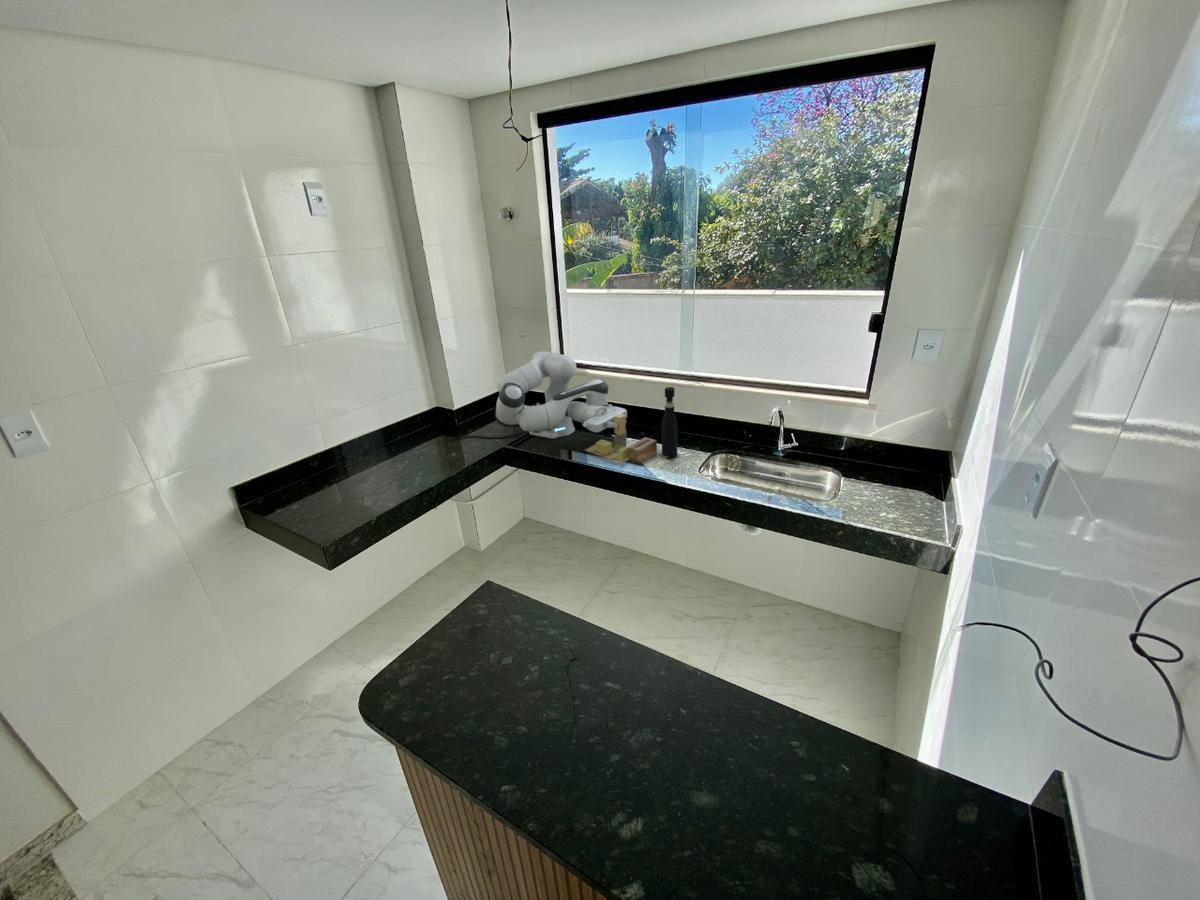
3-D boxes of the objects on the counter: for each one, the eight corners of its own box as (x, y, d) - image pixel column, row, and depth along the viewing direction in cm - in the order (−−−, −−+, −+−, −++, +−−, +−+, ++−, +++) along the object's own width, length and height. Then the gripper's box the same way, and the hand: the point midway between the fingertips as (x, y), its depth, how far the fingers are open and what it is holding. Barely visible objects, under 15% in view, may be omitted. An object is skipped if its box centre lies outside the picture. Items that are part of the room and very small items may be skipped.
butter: (595, 451, 213) (595, 442, 211) (602, 447, 216) (602, 439, 214) (605, 454, 209) (605, 446, 207) (612, 450, 212) (612, 442, 210)
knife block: (628, 461, 204) (627, 446, 201) (645, 451, 212) (645, 437, 209) (639, 465, 201) (639, 450, 197) (656, 455, 208) (656, 440, 205)
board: (584, 452, 215) (584, 450, 215) (597, 445, 221) (597, 442, 220) (622, 465, 201) (622, 463, 201) (635, 457, 207) (635, 455, 207)
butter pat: (617, 458, 205) (617, 449, 203) (624, 454, 208) (623, 446, 206) (621, 460, 204) (621, 451, 202) (628, 456, 206) (628, 447, 205)
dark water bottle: (659, 454, 208) (658, 388, 195) (671, 450, 211) (671, 384, 198) (667, 460, 203) (667, 392, 190) (680, 456, 206) (680, 389, 192)
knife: (611, 452, 204) (610, 417, 196) (623, 445, 209) (623, 411, 202) (616, 454, 202) (616, 419, 194) (629, 447, 207) (629, 413, 200)
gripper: (579, 417, 200) (604, 425, 191) (611, 402, 213) (636, 409, 204) (580, 431, 202) (605, 439, 194) (612, 416, 216) (636, 422, 207)
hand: (621, 423), depth 199 cm, fingers closed on knife, 3 cm apart
